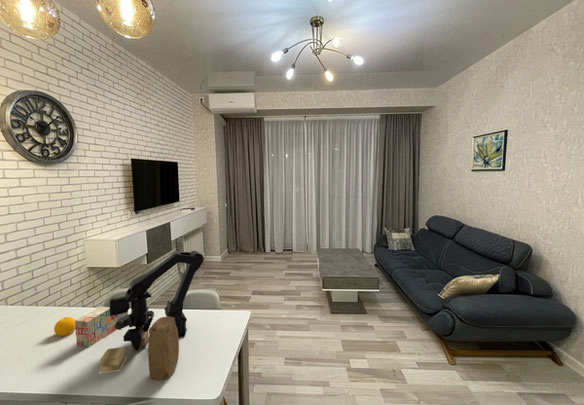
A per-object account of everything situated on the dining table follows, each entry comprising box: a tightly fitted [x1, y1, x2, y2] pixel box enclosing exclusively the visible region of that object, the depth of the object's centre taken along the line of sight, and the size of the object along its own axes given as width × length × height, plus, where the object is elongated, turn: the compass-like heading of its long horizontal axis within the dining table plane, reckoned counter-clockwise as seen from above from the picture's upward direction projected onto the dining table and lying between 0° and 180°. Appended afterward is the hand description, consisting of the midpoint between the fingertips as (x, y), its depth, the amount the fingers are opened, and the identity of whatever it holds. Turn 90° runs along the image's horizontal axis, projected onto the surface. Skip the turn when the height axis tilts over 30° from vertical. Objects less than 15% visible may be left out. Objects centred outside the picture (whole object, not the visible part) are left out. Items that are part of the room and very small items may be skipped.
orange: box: [53, 316, 76, 337], centre depth 119 cm, size 8×8×8 cm
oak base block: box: [99, 346, 126, 372], centre depth 98 cm, size 6×6×5 cm
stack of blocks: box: [75, 306, 129, 348], centre depth 119 cm, size 21×6×12 cm, turn 171°
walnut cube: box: [131, 330, 149, 351], centre depth 110 cm, size 5×5×5 cm
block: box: [147, 316, 180, 381], centre depth 95 cm, size 11×8×20 cm
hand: (140, 343), depth 110 cm, fingers open, 9 cm apart
